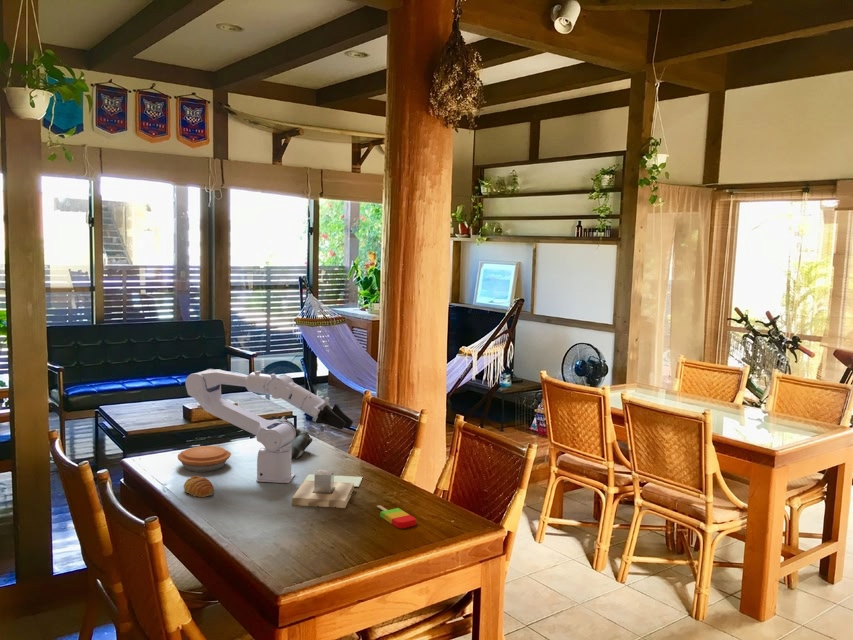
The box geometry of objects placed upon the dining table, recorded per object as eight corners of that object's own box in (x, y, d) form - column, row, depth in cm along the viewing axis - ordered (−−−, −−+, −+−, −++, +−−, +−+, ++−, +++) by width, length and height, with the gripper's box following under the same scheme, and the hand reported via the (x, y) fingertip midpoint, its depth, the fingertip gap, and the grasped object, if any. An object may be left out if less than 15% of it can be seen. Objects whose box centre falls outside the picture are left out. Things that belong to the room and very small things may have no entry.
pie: (201, 478, 205) (201, 461, 205) (166, 467, 214) (166, 451, 213) (241, 465, 219) (241, 449, 218) (207, 455, 227) (207, 440, 226)
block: (314, 499, 191) (314, 474, 190) (317, 494, 195) (318, 469, 194) (330, 500, 191) (330, 475, 190) (333, 495, 195) (334, 470, 194)
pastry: (220, 495, 192) (220, 481, 192) (197, 501, 188) (197, 487, 187) (203, 486, 199) (203, 472, 199) (180, 491, 194) (180, 478, 194)
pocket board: (292, 505, 186) (292, 497, 186) (304, 487, 200) (304, 480, 200) (345, 508, 185) (345, 500, 185) (353, 489, 199) (353, 482, 199)
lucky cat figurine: (294, 462, 222) (273, 424, 220) (268, 470, 228) (246, 433, 226) (319, 438, 235) (299, 402, 232) (294, 446, 241) (274, 411, 238)
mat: (302, 484, 202) (302, 483, 202) (308, 475, 210) (308, 474, 210) (358, 487, 201) (358, 486, 201) (362, 478, 209) (362, 476, 209)
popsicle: (399, 530, 173) (399, 523, 173) (368, 510, 185) (369, 503, 185) (418, 526, 176) (418, 519, 176) (387, 507, 189) (387, 500, 188)
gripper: (305, 389, 195) (347, 413, 192) (321, 389, 209) (361, 412, 206) (293, 412, 195) (334, 436, 192) (310, 410, 209) (349, 433, 206)
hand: (347, 425), depth 199 cm, fingers open, 7 cm apart
